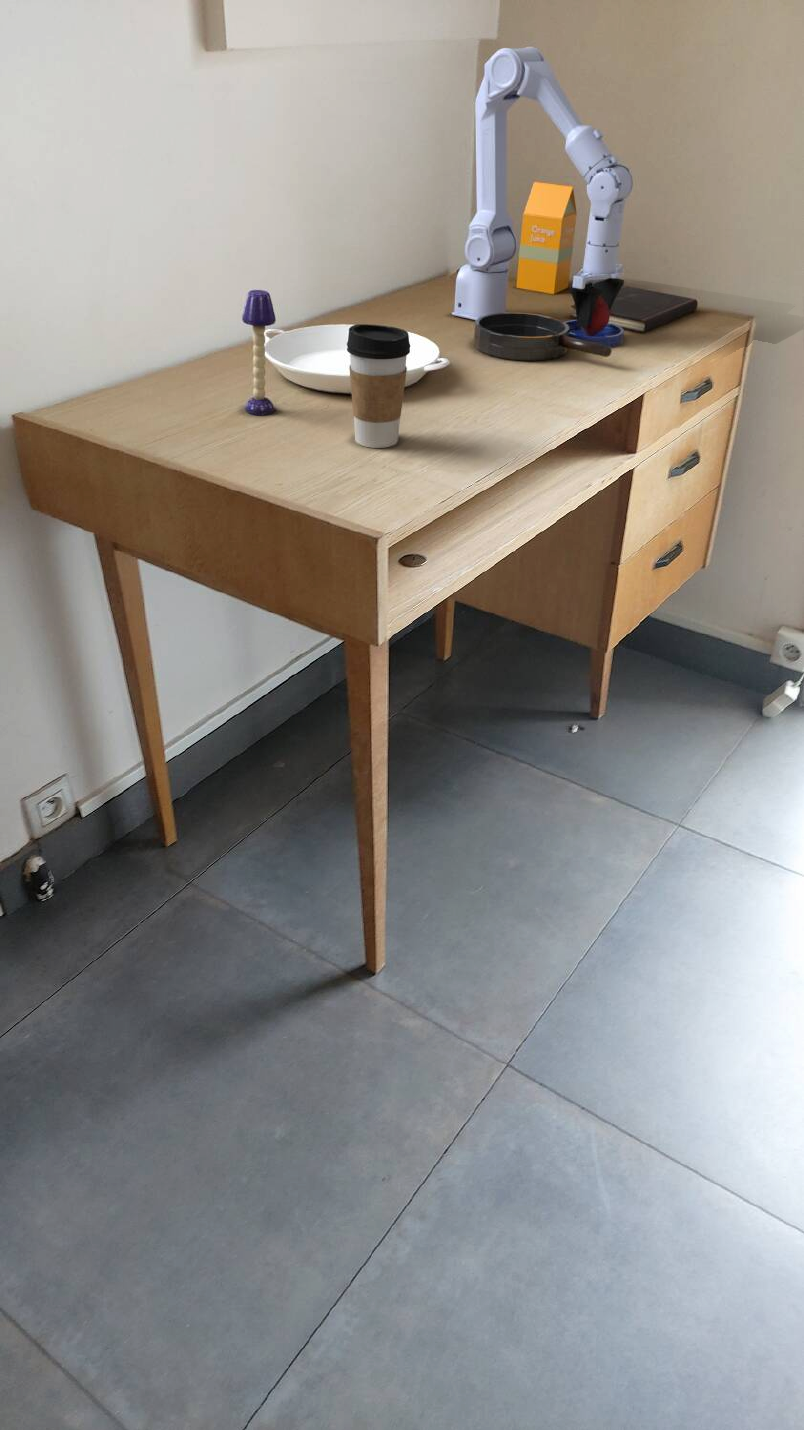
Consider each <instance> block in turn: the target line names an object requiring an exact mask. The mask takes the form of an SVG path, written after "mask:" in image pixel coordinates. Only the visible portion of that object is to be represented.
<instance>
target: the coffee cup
mask: <svg viewBox="0 0 804 1430" xmlns="http://www.w3.org/2000/svg"><path fill="white" fill-rule="evenodd" d="M352 325H353V326H351V327H350V328H349V335H348V342H347V351H348V352H349V353H350V362H351V364H350V366H349V369H350V381H351V393H352V394H351V402H352V412H353V413H352V415H353V427H354V440H355V442H356V443H357V445H359V446H363V447H366V448H373V449H385V448H391V447H393V446H395V445H396V444H397V443H398V440H399V433H400V424H401V423H400V422H401V416H402V411H403V409H402V408H403V400H404V395H405V388H406V387H405V379H406V372H407V367H406V358H407V355H408V354H409V353H410V343H409V334H408V332H409V331H407V332H406V330H405V329H402V328H399V327H394V326H390V325H380V324H369V323H368V324H367V323H366V324H365V323H362V324H361V323H359V324H352Z"/></svg>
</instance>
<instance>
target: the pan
mask: <svg viewBox="0 0 804 1430" xmlns="http://www.w3.org/2000/svg"><path fill="white" fill-rule="evenodd" d="M353 325H354V324H346V323H345V324H344V323H343V324H323V325H312V326H305V327H299V328H295V329H290V330H287V331H284V330H283V329H276V328H275V329H273V328H272V329H265V332H264V335H265V343H264V346H265V354H264V356H265V358H266V359H267V360H268V361H269V362H270V363H271V364H272V366H273V367H274V368H275V369H276V370H277V371H278V372H279V373H280V374H281V375H282V376H283V377H284V378H285V379H286V380H288V381H290V382H292V383H294V384H296V385H298V386H301V387H303V388H307V389H310V390H315V391H320V392H325V393H326V392H327V393H331V394H333V393H334V394H345V395H346V394H347V395H349V394H350V395H352V393H351V381H350V369H349V366H350V364H351V362H350V353H349V352H348V351H347V342H348V335H349V328H350V327H351V326H353ZM405 331H406V330H405ZM406 332H408V334H409V343H410V353H409V354H408V355H407V358H406V367H407V372H406V379H405V387H404V388H406V387H407V388H408V387H409V386H412V385H414V384H415V383H418V382H419V380H421V379H422V378H423V377H424V376H425V375H426V374H427V373H428V372H430V371H437V370H440V369H444V368H446V367H447V366H449V365H450V363H451V362H450V360H449V359H448V358H445V357H441V350H440V348H439V346H437V344H436V343H434V342H433V341H432V340H430V339H429V338H427V337H425V336H422V335H420V334H417V333H414V332H411V331H406ZM267 334H275V335H274V336H273V337H269V336H268V335H267Z"/></svg>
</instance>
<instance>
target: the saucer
mask: <svg viewBox="0 0 804 1430" xmlns="http://www.w3.org/2000/svg"><path fill="white" fill-rule="evenodd" d="M564 322H565V323H566V324H568V326H569V328H570V330H569V337H572V338H576V339H581V340H585V341H589V342H594V343H598V344H602V345H607V346H609V347H610V348H612V347H617V346H619V345H621V344H622V343H623V339H624V334H625V329H622V327H619V326H617V325H615V324H612V323H608V324H607V326H606V327H605V328H604V329H603V330H602V331H600V332H599V333H597V334H595V335H594V336H587V335H586V333H585V332H584V331H583V330H582V329H581V327H578V325H577V319H571V320H565V321H564Z"/></svg>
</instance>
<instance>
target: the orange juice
mask: <svg viewBox="0 0 804 1430" xmlns="http://www.w3.org/2000/svg"><path fill="white" fill-rule="evenodd" d="M574 191H575V190H574V186H573V185H568V184H559V183H551V182H545V181H544V182H542V181H535V180H534V181H533V185H532V188H531V190H530V193H529V196H528V199H527V203H526V205H525V209H524V210H523V211H524V212H523V213H522V222H521V231H520V232H521V234H520V244H519V253H518V266H517V275H516V276H517V277H516V289H521V290H527V291H534V292H539V293H544V294H551V295H555V294H558V293H559V292H561V291H563V290H566V289H567V288H569V282H570V281H569V280H570V272H571V265H572V258H573V250H574V241H575V240H574V239H575V232H576V231H575V230H576V223H577V216H578V212H577V207H576V197H575V192H574Z"/></svg>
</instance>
